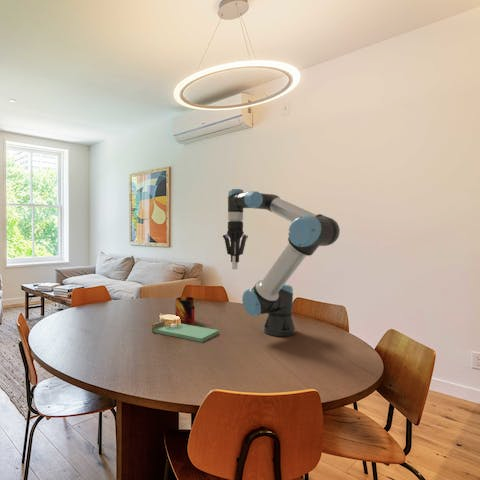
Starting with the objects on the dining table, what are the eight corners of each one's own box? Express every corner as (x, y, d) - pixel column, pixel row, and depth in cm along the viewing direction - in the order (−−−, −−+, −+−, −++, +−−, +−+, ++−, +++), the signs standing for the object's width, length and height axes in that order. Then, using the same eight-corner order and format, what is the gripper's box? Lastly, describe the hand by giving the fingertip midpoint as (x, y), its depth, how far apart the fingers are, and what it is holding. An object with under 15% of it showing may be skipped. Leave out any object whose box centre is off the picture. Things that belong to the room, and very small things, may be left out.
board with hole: (218, 333, 159) (219, 326, 158) (201, 342, 146) (201, 333, 146) (171, 324, 172) (171, 317, 172) (152, 331, 159) (152, 324, 159)
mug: (193, 326, 170) (193, 302, 170) (171, 322, 177) (171, 299, 176) (204, 321, 179) (204, 299, 178) (182, 318, 185) (183, 296, 185)
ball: (172, 324, 165) (173, 331, 164) (168, 324, 162) (169, 331, 161) (177, 322, 164) (178, 329, 163) (174, 322, 161) (175, 329, 160)
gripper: (250, 221, 168) (250, 269, 168) (227, 221, 174) (226, 267, 174) (244, 220, 161) (243, 270, 162) (220, 220, 167) (219, 268, 168)
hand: (234, 268), depth 168 cm, fingers closed
